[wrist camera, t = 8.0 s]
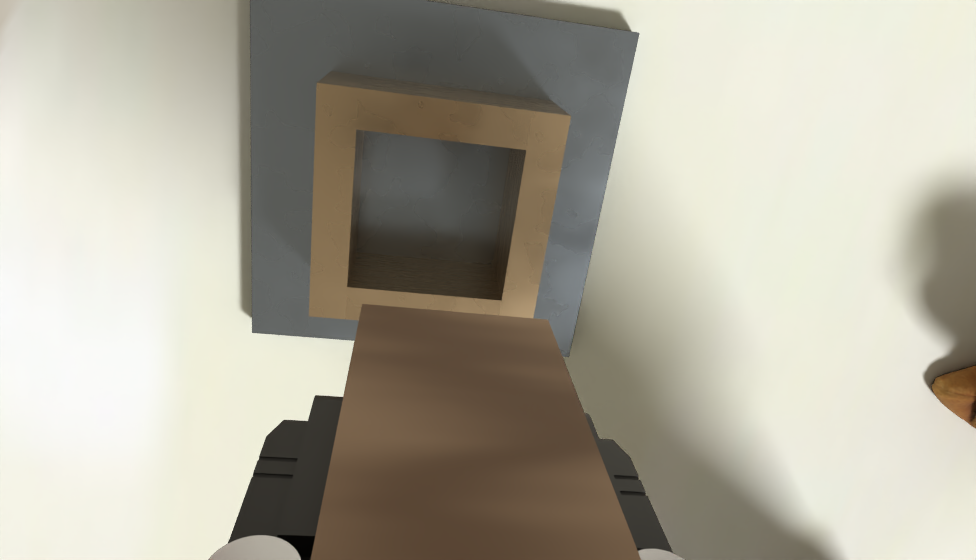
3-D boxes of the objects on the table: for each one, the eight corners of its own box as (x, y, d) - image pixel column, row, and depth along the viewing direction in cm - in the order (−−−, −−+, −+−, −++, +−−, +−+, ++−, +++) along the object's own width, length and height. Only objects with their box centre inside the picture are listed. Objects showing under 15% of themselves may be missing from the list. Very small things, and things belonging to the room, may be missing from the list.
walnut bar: (548, 319, 14) (728, 782, 6) (518, 465, 15) (627, 996, 7) (361, 303, 13) (263, 792, 5) (351, 457, 15) (261, 1020, 7)
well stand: (632, 31, 28) (672, 38, 24) (565, 347, 34) (586, 400, 30) (256, -26, 26) (220, -31, 21) (256, 323, 32) (229, 377, 27)
